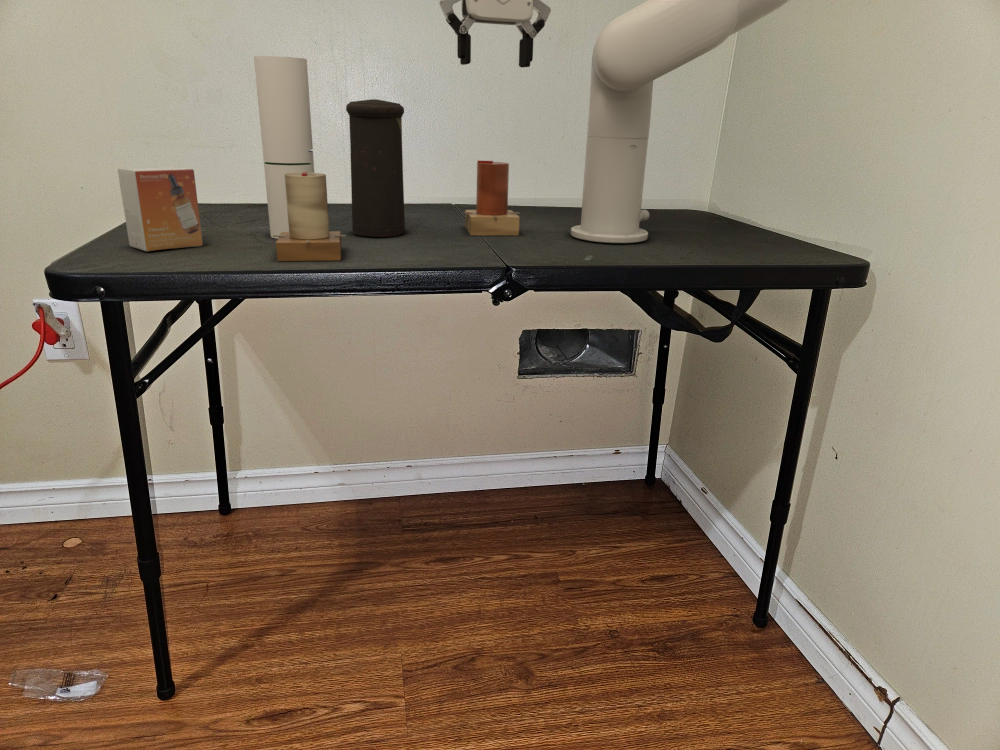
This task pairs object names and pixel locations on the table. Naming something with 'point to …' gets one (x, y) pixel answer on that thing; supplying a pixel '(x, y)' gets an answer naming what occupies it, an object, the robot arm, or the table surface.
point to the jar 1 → (307, 205)
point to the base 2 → (492, 224)
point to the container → (376, 168)
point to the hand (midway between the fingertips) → (495, 65)
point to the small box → (160, 207)
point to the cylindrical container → (283, 129)
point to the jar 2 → (492, 188)
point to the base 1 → (309, 248)
